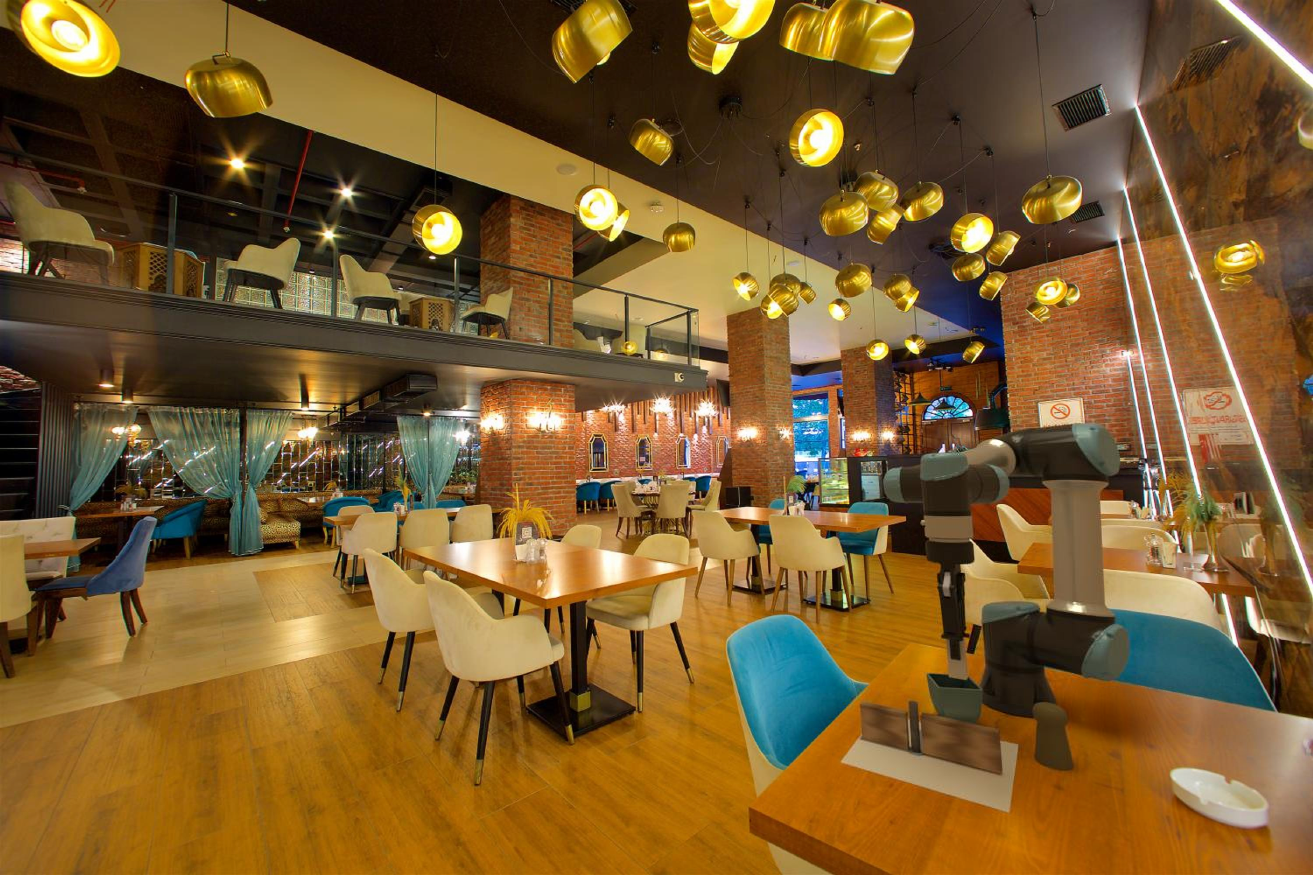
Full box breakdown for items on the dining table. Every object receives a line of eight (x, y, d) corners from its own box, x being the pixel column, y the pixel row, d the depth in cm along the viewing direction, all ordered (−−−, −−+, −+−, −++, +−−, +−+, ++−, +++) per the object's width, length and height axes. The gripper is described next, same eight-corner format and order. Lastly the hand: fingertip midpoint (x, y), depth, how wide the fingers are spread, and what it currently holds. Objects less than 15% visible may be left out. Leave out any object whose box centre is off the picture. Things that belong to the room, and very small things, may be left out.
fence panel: (922, 753, 99) (920, 715, 99) (924, 749, 100) (922, 712, 101) (1001, 773, 91) (998, 733, 92) (1002, 769, 93) (999, 729, 93)
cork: (1067, 761, 97) (1062, 700, 98) (1081, 779, 92) (1075, 713, 93) (1029, 757, 99) (1024, 696, 100) (1040, 773, 94) (1035, 709, 95)
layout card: (1019, 749, 102) (1018, 744, 102) (1009, 819, 81) (1009, 811, 81) (878, 716, 118) (878, 711, 118) (840, 767, 97) (840, 761, 97)
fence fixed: (921, 750, 100) (918, 701, 101) (919, 754, 99) (916, 704, 100) (864, 735, 107) (862, 689, 108) (861, 739, 105) (859, 692, 106)
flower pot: (987, 734, 108) (983, 689, 109) (940, 731, 110) (937, 686, 111) (970, 716, 117) (967, 674, 118) (928, 713, 119) (925, 672, 120)
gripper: (932, 535, 101) (940, 662, 99) (917, 542, 90) (927, 684, 88) (977, 537, 96) (987, 670, 94) (968, 544, 86) (979, 694, 84)
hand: (958, 676), depth 91 cm, fingers closed
